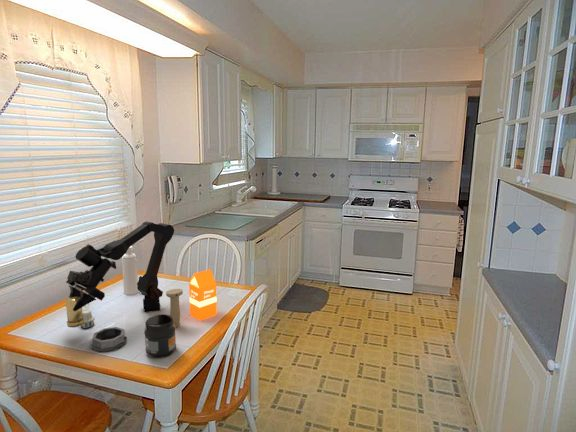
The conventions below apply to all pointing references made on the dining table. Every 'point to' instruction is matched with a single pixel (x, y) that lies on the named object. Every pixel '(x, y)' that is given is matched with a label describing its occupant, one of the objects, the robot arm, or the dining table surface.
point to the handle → (175, 304)
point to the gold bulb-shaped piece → (74, 313)
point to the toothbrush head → (87, 317)
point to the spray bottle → (130, 272)
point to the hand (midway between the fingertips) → (70, 308)
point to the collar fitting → (108, 339)
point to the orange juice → (203, 295)
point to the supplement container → (160, 336)
